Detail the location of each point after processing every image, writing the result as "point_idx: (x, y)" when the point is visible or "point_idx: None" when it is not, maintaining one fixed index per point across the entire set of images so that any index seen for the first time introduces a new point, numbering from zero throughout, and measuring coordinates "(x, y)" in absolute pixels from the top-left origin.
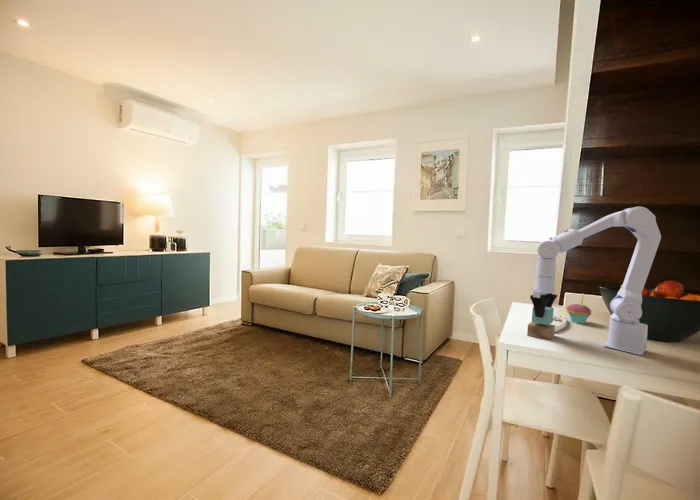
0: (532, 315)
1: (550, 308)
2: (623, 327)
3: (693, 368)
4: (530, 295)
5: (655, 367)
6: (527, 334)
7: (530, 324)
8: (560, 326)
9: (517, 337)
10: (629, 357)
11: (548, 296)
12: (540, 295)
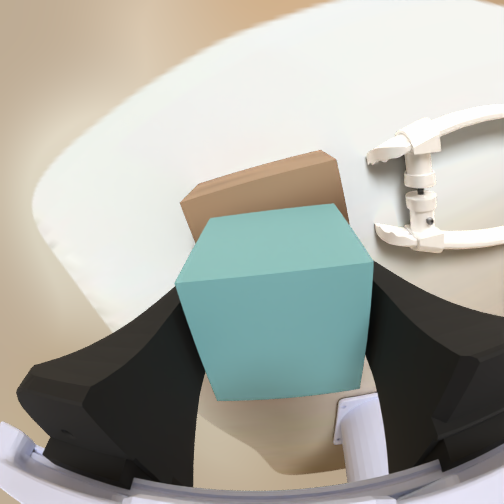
0: (198, 242)
1: (309, 387)
2: (348, 481)
3: (327, 471)
4: (19, 392)
5: (267, 459)
6: (197, 186)
7: (206, 207)
8: (468, 248)
9: (118, 179)
10: (293, 437)
11: (406, 449)
12: (92, 485)
